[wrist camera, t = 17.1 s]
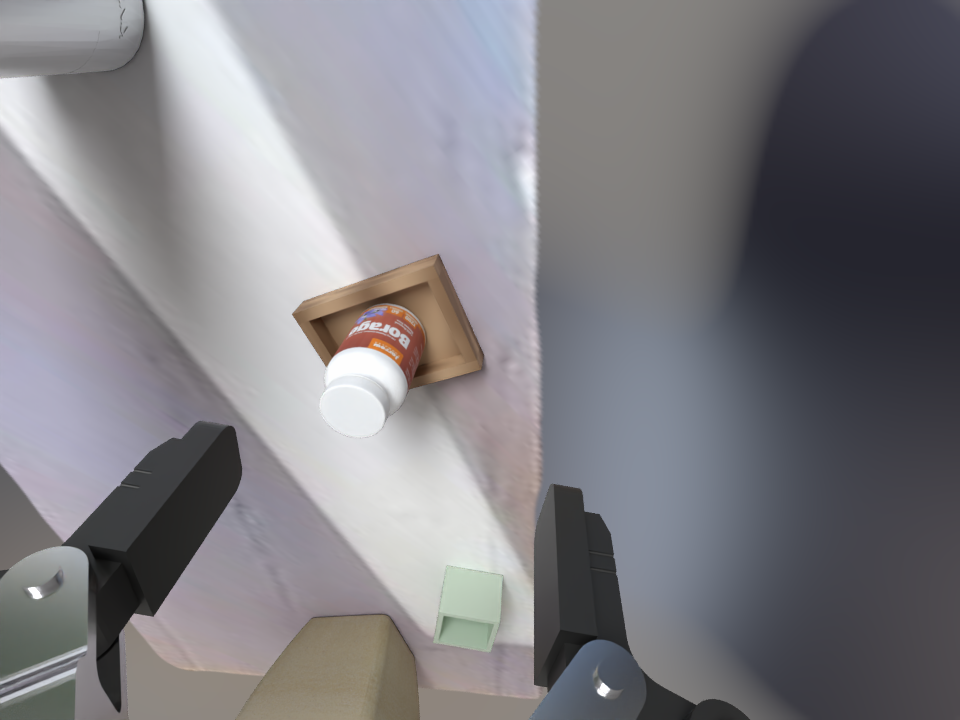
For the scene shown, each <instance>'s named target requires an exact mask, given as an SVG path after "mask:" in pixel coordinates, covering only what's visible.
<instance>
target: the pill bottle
mask: <svg viewBox="0 0 960 720" xmlns="http://www.w3.org/2000/svg"><path fill="white" fill-rule="evenodd" d="M425 342H426V337H425V331H424V328H423V326H422V324H421V322H420V321H419V319H418V318H417V317H416V316H415V315H414V314H413V313H412V312H410V311H409V310H408V309H406V308H404V307H402V306H399V305H396V304H389V303H383V304H377V305H374V306H371V307H369V308H368V309H366V310H365V311H364V312H363V313H362V314H361V315H360V316H359V318H358V319H357V321H356V322H355V324H354V325H353V327H352V328H351V330H350V332H349V333H348V335H347V336H346V338H345V339H344V341H343V342H342V344H341V345H340V347H339V349H338V350H337V352H336V353H335V355H334V356H333V358H332V359H331V361H330V363H329V364H328V366H327V368H326V371H325V375H324V385H325V391H324V393H323V395H322V396H321V399H320V403H319V409H320V413H321V415H322V417H323V419H324V421H325V422H326V423H327V424H328V425H329V426H330V427H331V428H332V429H334V430H335V431H337V432H339V433H340V434H343V435H345V436H349V437H353V438H366V437H370V436H373V435H375V434H376V433H378V432H379V431H380V430H381V429H382V428H383V426H384V424H385V422H386V420H387V418H388V416H390V415H392V414H393V413H395V412H396V411H397V410H398V409H399V408H400V407H401V405H402V404H403V402H404V400H405V398H406V395H407V393H408V390H409V387H410V385H411V382H412V380H413V377H414V374H415V372H416V369H417V366H418V364H419V361H420V358H421V356H422V353H423V350H424V347H425Z"/></svg>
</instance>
